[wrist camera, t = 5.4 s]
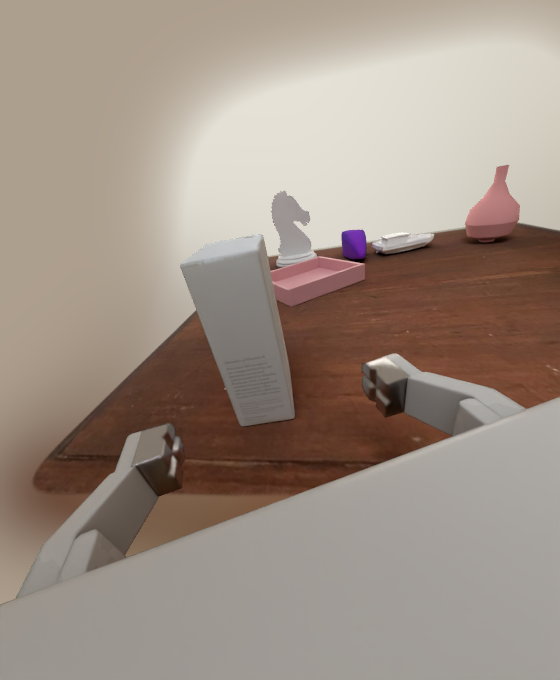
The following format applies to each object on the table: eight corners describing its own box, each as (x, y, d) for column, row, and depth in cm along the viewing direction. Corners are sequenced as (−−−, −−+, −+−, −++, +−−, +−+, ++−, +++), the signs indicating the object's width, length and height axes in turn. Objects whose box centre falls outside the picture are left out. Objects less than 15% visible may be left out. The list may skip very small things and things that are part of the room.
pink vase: (453, 244, 50) (464, 173, 44) (475, 235, 52) (489, 167, 46) (499, 246, 43) (519, 164, 38) (522, 237, 46) (544, 158, 40)
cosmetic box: (245, 377, 23) (204, 243, 17) (290, 370, 23) (264, 232, 17) (237, 430, 18) (175, 263, 12) (296, 421, 18) (261, 246, 12)
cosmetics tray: (290, 307, 36) (288, 290, 35) (257, 289, 46) (254, 276, 45) (365, 279, 41) (364, 263, 40) (320, 269, 51) (319, 256, 50)
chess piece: (321, 262, 55) (314, 184, 48) (277, 270, 56) (264, 194, 48) (313, 254, 64) (306, 186, 57) (275, 261, 64) (264, 195, 57)
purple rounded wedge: (349, 246, 47) (338, 227, 59) (349, 271, 49) (339, 248, 62) (375, 242, 46) (359, 224, 58) (374, 267, 49) (359, 245, 61)
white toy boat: (370, 252, 55) (370, 236, 54) (425, 242, 55) (426, 225, 53) (381, 257, 50) (382, 240, 49) (442, 246, 50) (444, 228, 48)
